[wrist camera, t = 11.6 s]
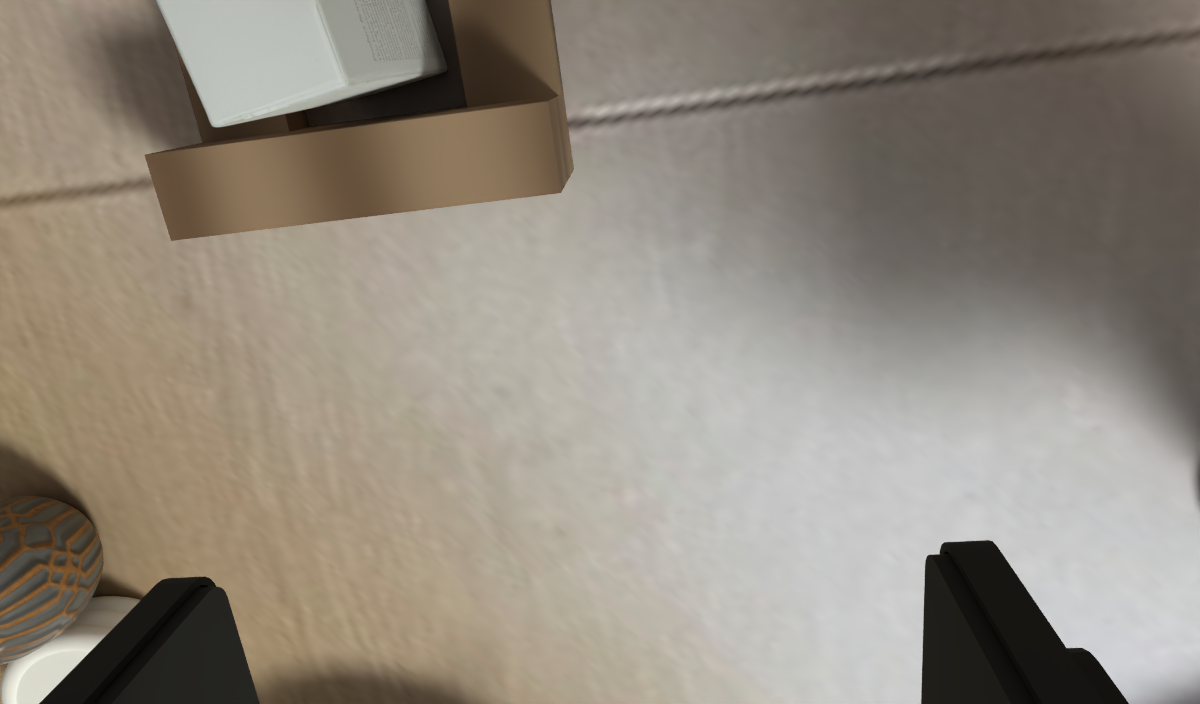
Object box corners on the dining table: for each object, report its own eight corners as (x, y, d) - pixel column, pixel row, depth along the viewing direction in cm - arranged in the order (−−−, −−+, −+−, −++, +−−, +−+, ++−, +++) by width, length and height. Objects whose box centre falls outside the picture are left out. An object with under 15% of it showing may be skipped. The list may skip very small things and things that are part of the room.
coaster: (111, 760, 46) (70, 814, 43) (5, 623, 43) (-48, 670, 40) (262, 712, 44) (232, 765, 41) (163, 566, 41) (122, 611, 38)
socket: (518, -232, 29) (489, -303, 23) (573, 169, 33) (560, 192, 28) (143, -169, 30) (27, -221, 24) (247, 210, 35) (171, 240, 29)
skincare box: (294, -55, 31) (98, -117, 20) (398, -91, 30) (258, -176, 19) (353, 106, 33) (206, 132, 22) (452, 74, 32) (354, 86, 21)
